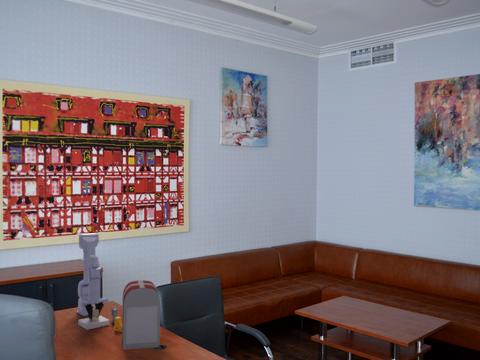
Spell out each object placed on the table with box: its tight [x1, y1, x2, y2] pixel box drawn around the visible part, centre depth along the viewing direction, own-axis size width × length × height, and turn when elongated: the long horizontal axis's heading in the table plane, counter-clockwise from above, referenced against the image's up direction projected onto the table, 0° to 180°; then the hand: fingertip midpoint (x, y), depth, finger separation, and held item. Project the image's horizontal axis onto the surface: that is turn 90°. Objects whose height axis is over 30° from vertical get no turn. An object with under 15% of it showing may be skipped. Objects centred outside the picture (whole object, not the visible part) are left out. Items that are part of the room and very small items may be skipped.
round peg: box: [110, 307, 119, 324], centre depth 247 cm, size 3×3×7 cm
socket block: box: [77, 314, 110, 331], centre depth 243 cm, size 10×12×2 cm
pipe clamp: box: [113, 316, 122, 333], centre depth 234 cm, size 12×4×6 cm, turn 67°
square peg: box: [90, 307, 99, 322], centre depth 242 cm, size 3×3×7 cm
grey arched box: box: [121, 279, 161, 351], centre depth 221 cm, size 17×18×27 cm
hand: (93, 318), depth 243 cm, fingers closed on square peg, 3 cm apart
